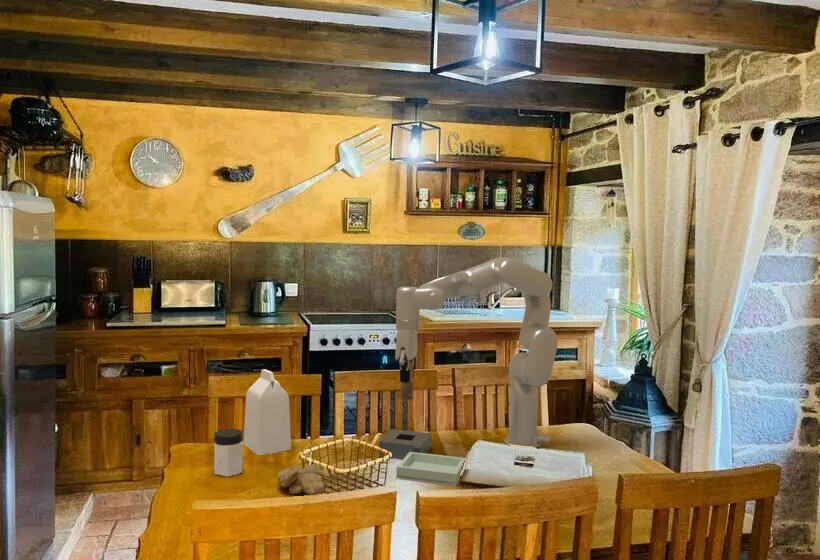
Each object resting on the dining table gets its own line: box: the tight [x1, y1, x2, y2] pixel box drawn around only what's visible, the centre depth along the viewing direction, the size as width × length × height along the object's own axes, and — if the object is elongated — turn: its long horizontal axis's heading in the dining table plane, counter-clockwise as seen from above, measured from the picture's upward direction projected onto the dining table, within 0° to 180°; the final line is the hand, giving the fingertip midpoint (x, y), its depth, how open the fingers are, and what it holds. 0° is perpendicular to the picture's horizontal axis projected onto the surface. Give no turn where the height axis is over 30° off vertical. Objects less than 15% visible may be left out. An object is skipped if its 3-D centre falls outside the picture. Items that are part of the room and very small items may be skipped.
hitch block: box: [378, 428, 433, 460], centre depth 216 cm, size 14×14×5 cm
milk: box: [243, 368, 292, 456], centre depth 217 cm, size 12×12×26 cm
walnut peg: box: [400, 361, 414, 401], centre depth 215 cm, size 4×4×12 cm
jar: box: [213, 428, 244, 477], centre depth 196 cm, size 9×8×12 cm
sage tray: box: [395, 452, 467, 487], centre depth 197 cm, size 18×14×4 cm
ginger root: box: [276, 463, 327, 496], centre depth 184 cm, size 16×16×8 cm
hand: (406, 379), depth 215 cm, fingers closed on walnut peg, 4 cm apart
